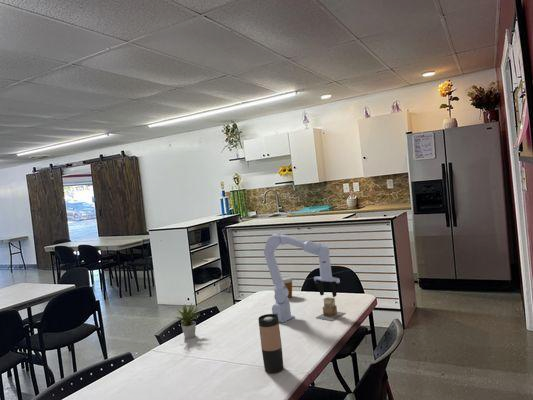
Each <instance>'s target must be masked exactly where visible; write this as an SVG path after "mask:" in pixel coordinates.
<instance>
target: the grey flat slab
mask: <svg viewBox="0 0 533 400" xmlns="http://www.w3.org/2000/svg"><path fill="white" fill-rule="evenodd" d="M343 314H344V315H346V312H343V311H342V312H341V311H337V315H335V316H333V317H327V316H324V314H323V313H321V314H320V315H317V316H315V319H319V320H323V321H328V322H329V321H330V322H333V321H336V319H339V318H340V317H342V316H344V315H343Z"/></svg>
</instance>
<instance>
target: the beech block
mask: <svg viewBox="0 0 533 400" xmlns="http://www.w3.org/2000/svg"><path fill="white" fill-rule="evenodd" d="M322 300H323V307H328V308H332V307H334V306H335V305H336V298H335V297H333V296H331V297H330V296H327V297H325V298H323V299H322Z"/></svg>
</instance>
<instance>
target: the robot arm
mask: <svg viewBox="0 0 533 400" xmlns="http://www.w3.org/2000/svg"><path fill="white" fill-rule="evenodd" d="M287 244H288V245H291V246H294V247H298V248H301V249H302V250H303V251H304V252H305V253H309V254H312V255H315V256H318V265H319V276H314V277H313V281H314V285H315V287H316V288H317V290H318V292H319V295H320V296H324V295H325V290H324V285H325V284H324V283H325V282H326V283H327V282H328V283H329V287H330V288H331V289H330V290H331V294H332V298H335V297H337V295H338V293H337V292H338V288H339V285H340V283H341V281H340V278H339V277H335V276H333V274H332V273H333V272H332V267H331V266H332V265H331V264H332V263H331V258H330V249H329V246H328V245H325V244H322V243H320V242H319V243H316V242H314V241H313V240H311V239H309V240H306V241H302V240H300V239H297V238H294V237H292V236H289V235H286V234H284V233H283V234H282V233H281V234H280V233H279V232H275V233H273V234H272V235H271V236H269V237H268V238H267V240H266V241H265V245H264V249H263V255H264V257H265V261H266V265H267V268H268V271H269V274H270V277H271V281H272V284H273V292H274V296H273V297H274V301H275V303H274V304H273V305H272V307H271V312H272V313H271V314H276V315H277V316H278V321H279V323H285V322H287V321H289V320H291V319H293V318H295V315H292V312H291V304H290V303H291V302H290V298H288V297H287V296H288V294H289V291H288V289H287V288H286V286H285V284H284V282H283V281H282V277H283V276H282V275H281V272H280V268H279V265H278V262H277V258H276V256H275V251H276V249H277V248H278V247H279V246H284V245H287Z"/></svg>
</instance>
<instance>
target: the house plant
mask: <svg viewBox="0 0 533 400" xmlns="http://www.w3.org/2000/svg"><path fill="white" fill-rule="evenodd" d="M195 306H196V303H195V304H193V303H191V304H190V305H189V306H188V307H189V308H188V309H187V306H186V304H185V303H184V304H183V305H182V308H181V310H182V311H183V312H182V311H181V310H180V309H178V308H177V309H176V311H177V313H178V314H180V316H181V317H180V316H176V317H175V319H178V320H180V323H181V325H180V326H181V328H182V329H181V330H182V332H183V336H184V338H185V339H191V338H194V337H196V328H197V327H196V325H197V323H196V321H194V319H195V320H198V317H200V312H199V313H196V312H198V311H200V310H202V308H200V307H201V306H200V305H199V306H197V307H196V308H195Z"/></svg>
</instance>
